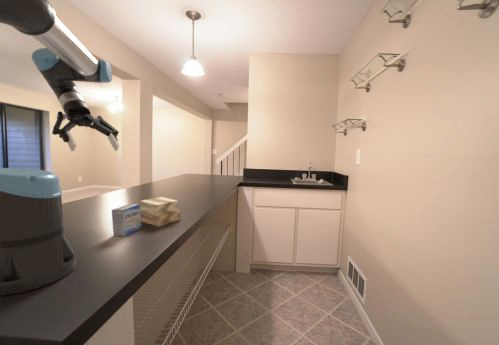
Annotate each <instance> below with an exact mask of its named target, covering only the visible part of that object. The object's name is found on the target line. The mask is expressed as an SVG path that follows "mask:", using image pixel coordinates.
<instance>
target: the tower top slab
mask: <svg viewBox="0 0 499 345" xmlns="http://www.w3.org/2000/svg"><path fill="white" fill-rule="evenodd" d="M178 210H179V201H178V200H177V199H173V198H169V197H163V196H160V197H159V196H158V197H153V198H148V199H143V200H142V199H141V200H140V211H143V212H146V213H149V214H152V215H155V216H159V215H163V214H167V213H171V212H175V211H178Z"/></svg>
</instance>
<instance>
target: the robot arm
mask: <svg viewBox="0 0 499 345" xmlns="http://www.w3.org/2000/svg"><path fill="white" fill-rule="evenodd" d="M0 24H5V25H8V26H11V27H12V28H14V29H15V30H17V31H18V32H20V33H22V34H23V35H27V36H32V37H33V38H34V39H35V40H36V41H38V42H39V43H40V44H41V45H43V46H44V47H42V48H38V49H35V50H34V51H33V52H32V53H31V60H32V62H33V63H34V65H35V66H36V68H37V70H38V71H39V72H40V74H41V75H42V77H43V78H44V80H45V81H46V83H47V84H48V85H49V87H50V89H51V90H52V91H53V93H54V94H55V97H56V98H57V99H58V102H59V105H60V106H61V108H62V110H63V111H57V116H56V122H55V124H54V125H53V129H52V133H51V134H52V135H55V136H57V135H59V138H60V139H62V141H63V143H67V145H68V147H69V149H70V152H75V150H76V147H77V143H76V142H75V139H74V138H73V136H72V133H71V132H70V131H71V130H72V129H74V128H75V127H76V126H77V127H86V128H90V129H92V130H93V129H94V130H96V131H97V132H99V133H101V134H102V135H105V136H106V137H108V138H107V139H108V140H109V143H110V145H111V146H112V148H113V150H114V152H115V151H116V152H117V151H118V150H119V147H120V144H119V142H118V140H119V139H118V135H119V133H120V131H119V130H117V129H116V128H115V127H114V126H112V125H111V124H110V123H108V122H107V121H106V120H105V119H104V118H103V117H102V116H101V115H98V116H96V117H94V116H93V115H92V114H91V110H90V108H89V107H88V104H87V103H86V102H85V99H84V98H83V97H82V94H80V91H79V89H78V87H77V85H76V84H75V82H84V83H99V84H102V83H103V84H105V83H111V82H112V81H113V70H112V67H111V64H110V63H109V62H108V61H106V60H102V59H97V58H96V57H94V56H93V54H91V52H90V51H89V50H88V49H87V48H86V47H85V46H84V44H82V42H80V40H78V38H77V37H76V36H75V35H74V34H73V33H72V32H71V31H70V30H69V28H67V26H65V24H64V23H63V22H62V21H61V20H60V19H59V18H58V17H57V15H56V11H55V8H54V6H52V4H51V3H50V1H49V0H0ZM63 112H64V113H63ZM65 120H68V123H66V124H65V125H64V126H63V127H62V128H61V126H62V124H63V121H65ZM62 193H63V192H62V189H61V183H60V180H59V177H58V176H57V174H55V173H54V172H52V171H48V170H44V169H43V170H42V169H37V168H36V169H35V168H11V167H0V295H1V294H11V295H15V293H16V294H20V293H25V292H29V291H33V290H35V289H39V288H42V287H45V286H47V285H50V284H52V283H54V282H56V281H58V280H61V279H63V278H64V277H66V276H67V275H68V274H70V273H72V271H73V270H74V269H75V268H76V266H77V261H76V260H77V258H76V253H75V251H74V249H73V248H72V246H71V245H70V243H69V241H68V238H67V237H66V236H65V228H64V216H63V215H64V214H63V201H62V200H63V198H62Z"/></svg>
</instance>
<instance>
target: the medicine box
mask: <svg viewBox="0 0 499 345" xmlns="http://www.w3.org/2000/svg"><path fill="white" fill-rule="evenodd" d="M140 211H141V204H138V203H128V204H125V205H123V206H119V207H117V208H114V209H112V210H111V217H112V218H111V220H112V232H113V233H112V234H113V236H116V237H127V236H129V235H131V234H133V233H135V232H136V231H137V232H138V231H139V230H140V229H142V222H141V218H140Z"/></svg>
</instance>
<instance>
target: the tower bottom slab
mask: <svg viewBox="0 0 499 345" xmlns="http://www.w3.org/2000/svg"><path fill="white" fill-rule="evenodd" d="M140 218H141V223H144V224H148V225H152V226H155V227H158V228H159V227H162V226H164V225H167V224H171V223H173V222H177V221H180V220H181V210H180V209H178V211H175V212H171V213H167V214H163V215H159V216H155V215H152V214H149V213H146V212H143V211H141V210H140Z"/></svg>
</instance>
